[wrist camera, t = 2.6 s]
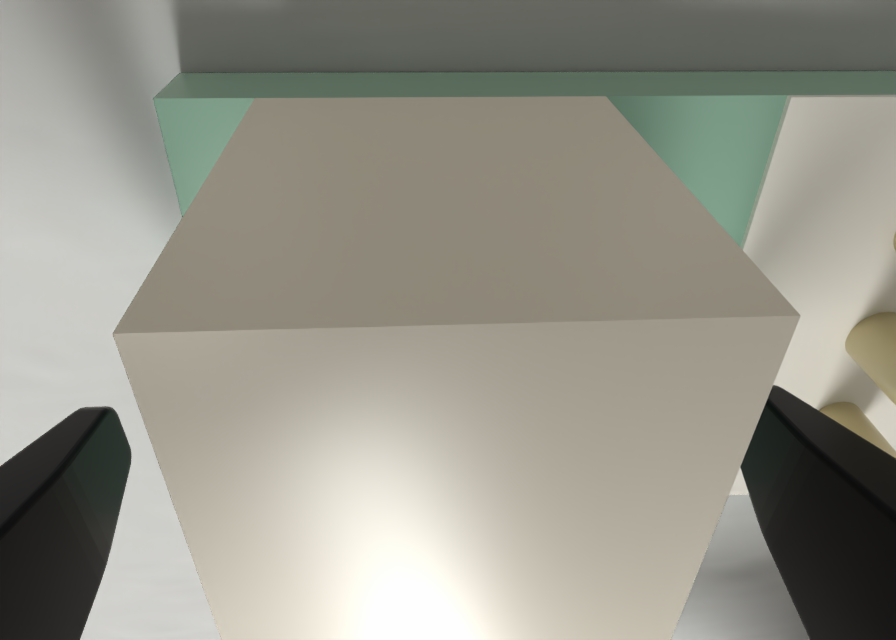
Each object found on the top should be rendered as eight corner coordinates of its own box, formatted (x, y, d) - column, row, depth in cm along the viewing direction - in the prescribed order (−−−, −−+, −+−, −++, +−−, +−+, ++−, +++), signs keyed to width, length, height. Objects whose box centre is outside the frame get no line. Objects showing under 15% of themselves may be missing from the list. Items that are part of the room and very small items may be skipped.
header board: (1115, 70, 10) (1570, 202, 6) (897, 440, 15) (1076, 647, 11) (179, 73, 9) (19, 227, 5) (265, 465, 14) (213, 700, 10)
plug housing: (605, 95, 8) (800, 315, 4) (544, 499, 13) (611, 788, 9) (254, 97, 8) (111, 332, 4) (319, 508, 13) (283, 811, 9)
